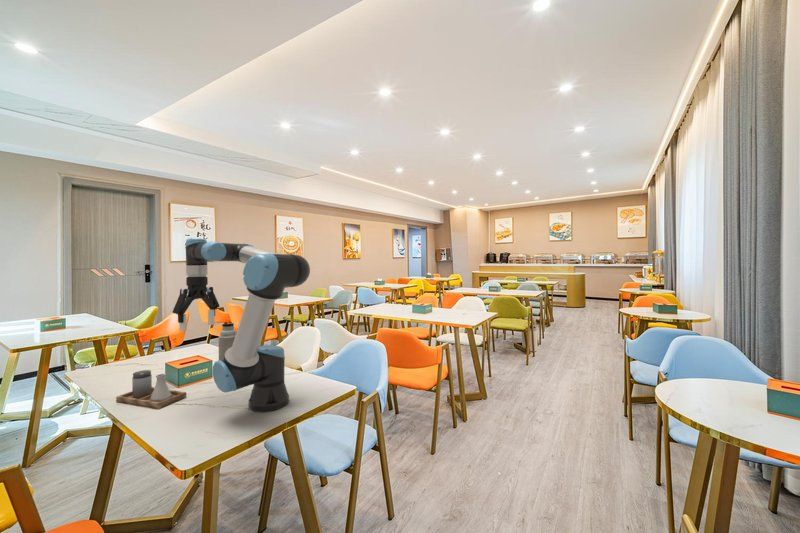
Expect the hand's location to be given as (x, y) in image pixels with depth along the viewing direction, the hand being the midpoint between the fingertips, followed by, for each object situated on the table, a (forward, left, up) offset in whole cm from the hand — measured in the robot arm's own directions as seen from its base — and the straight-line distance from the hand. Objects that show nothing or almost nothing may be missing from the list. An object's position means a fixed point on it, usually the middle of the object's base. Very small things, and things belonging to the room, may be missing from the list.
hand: (197, 327), depth 138 cm
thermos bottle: (+4, -20, -30) cm, 36 cm away
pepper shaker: (+24, +5, -29) cm, 38 cm away
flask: (+14, +5, -29) cm, 33 cm away
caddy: (+19, +5, -30) cm, 36 cm away
